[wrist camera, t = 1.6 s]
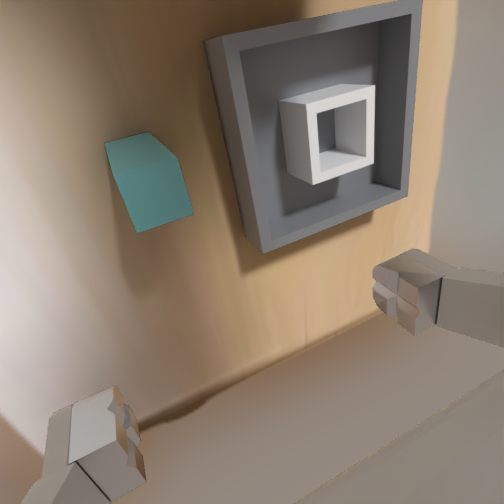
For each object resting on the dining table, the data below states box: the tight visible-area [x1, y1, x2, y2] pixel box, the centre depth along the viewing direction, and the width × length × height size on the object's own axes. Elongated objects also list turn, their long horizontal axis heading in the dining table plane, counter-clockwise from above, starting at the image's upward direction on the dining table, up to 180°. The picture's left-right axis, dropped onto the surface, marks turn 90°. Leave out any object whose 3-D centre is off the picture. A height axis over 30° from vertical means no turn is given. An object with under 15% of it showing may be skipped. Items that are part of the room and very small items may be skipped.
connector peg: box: [104, 132, 194, 233], centre depth 26 cm, size 4×4×12 cm
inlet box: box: [203, 0, 423, 254], centre depth 35 cm, size 20×20×6 cm
